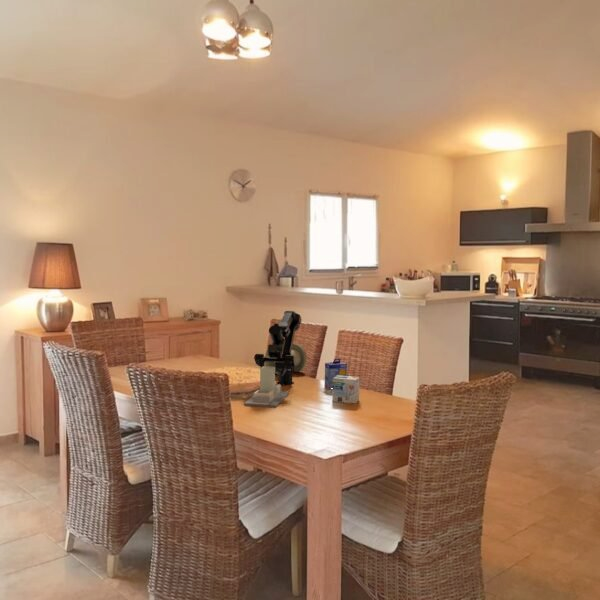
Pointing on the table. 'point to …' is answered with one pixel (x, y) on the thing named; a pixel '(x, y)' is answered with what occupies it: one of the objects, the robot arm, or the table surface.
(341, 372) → the ink cartridge box
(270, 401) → the rail board
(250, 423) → the table surface
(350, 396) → the light bulb box
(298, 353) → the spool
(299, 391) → the table surface
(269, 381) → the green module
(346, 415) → the table surface
